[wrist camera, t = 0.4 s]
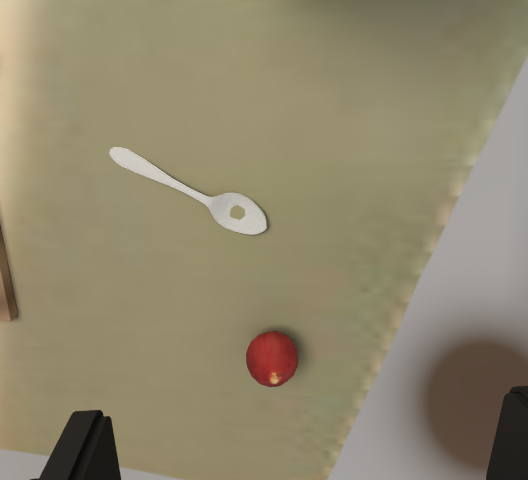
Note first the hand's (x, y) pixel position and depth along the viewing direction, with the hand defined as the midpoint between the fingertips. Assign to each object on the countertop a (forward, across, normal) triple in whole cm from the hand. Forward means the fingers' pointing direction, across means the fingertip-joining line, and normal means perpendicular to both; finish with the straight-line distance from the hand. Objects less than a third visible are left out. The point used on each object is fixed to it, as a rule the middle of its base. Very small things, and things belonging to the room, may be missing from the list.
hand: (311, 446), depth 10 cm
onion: (+35, -2, +20) cm, 41 cm away
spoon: (+36, +8, +1) cm, 37 cm away
